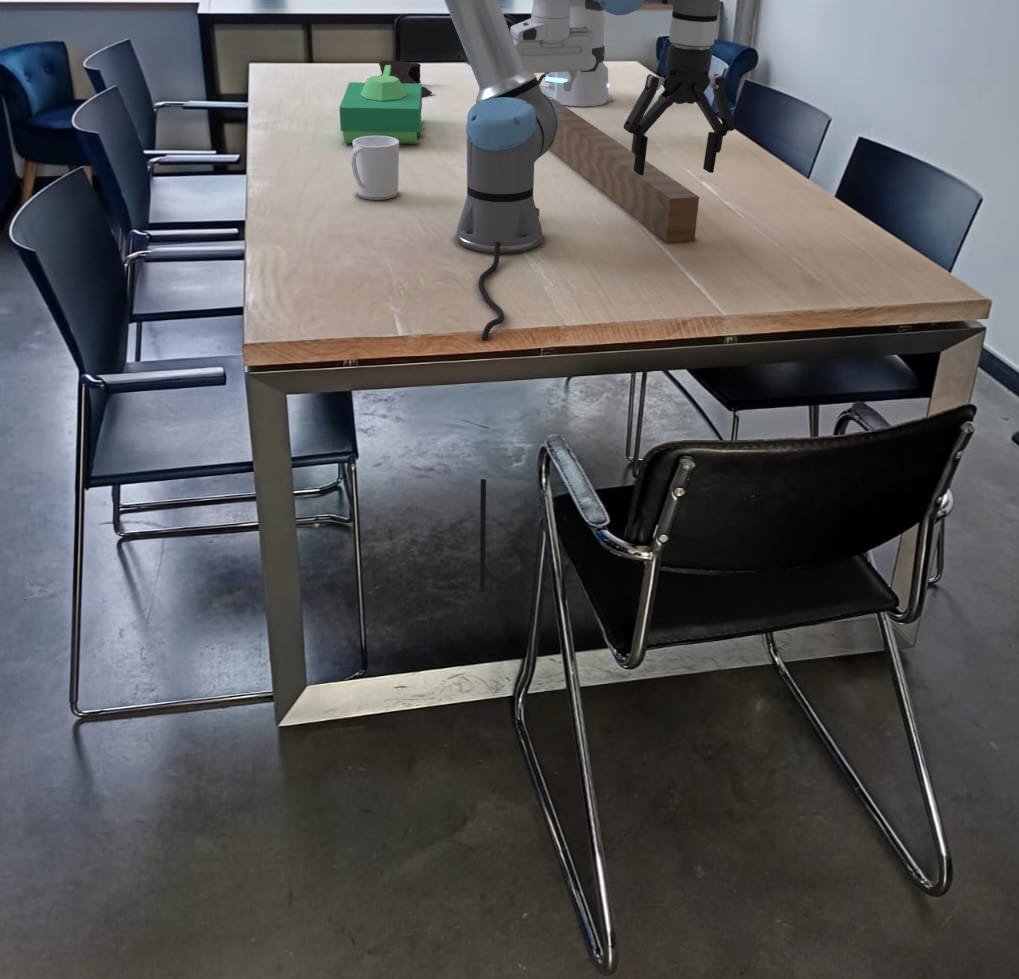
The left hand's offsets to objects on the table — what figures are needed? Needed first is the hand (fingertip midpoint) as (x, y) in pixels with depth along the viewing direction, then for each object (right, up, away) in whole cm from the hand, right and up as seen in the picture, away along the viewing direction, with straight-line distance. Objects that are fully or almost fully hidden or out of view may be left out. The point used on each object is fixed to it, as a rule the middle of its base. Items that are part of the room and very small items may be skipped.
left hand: (673, 172), depth 195 cm
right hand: (-20, +36, +60) cm, 73 cm away
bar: (-10, +8, +35) cm, 38 cm away
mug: (-56, +2, +22) cm, 60 cm away
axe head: (-58, +53, +105) cm, 132 cm away
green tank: (-59, +30, +69) cm, 96 cm away
